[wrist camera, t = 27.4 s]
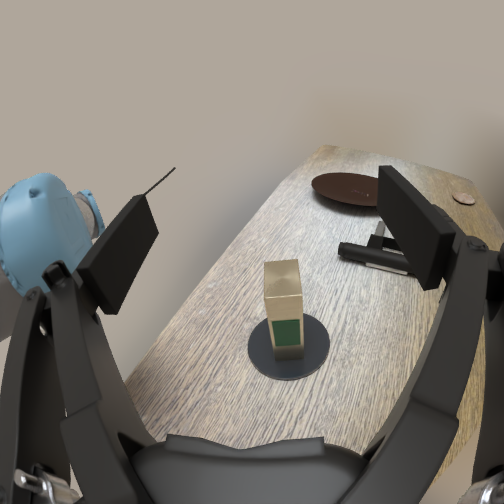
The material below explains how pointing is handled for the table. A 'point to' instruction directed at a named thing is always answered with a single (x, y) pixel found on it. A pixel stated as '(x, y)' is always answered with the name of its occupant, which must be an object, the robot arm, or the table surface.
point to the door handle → (377, 253)
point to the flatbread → (463, 197)
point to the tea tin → (284, 308)
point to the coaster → (289, 369)
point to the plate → (348, 188)
